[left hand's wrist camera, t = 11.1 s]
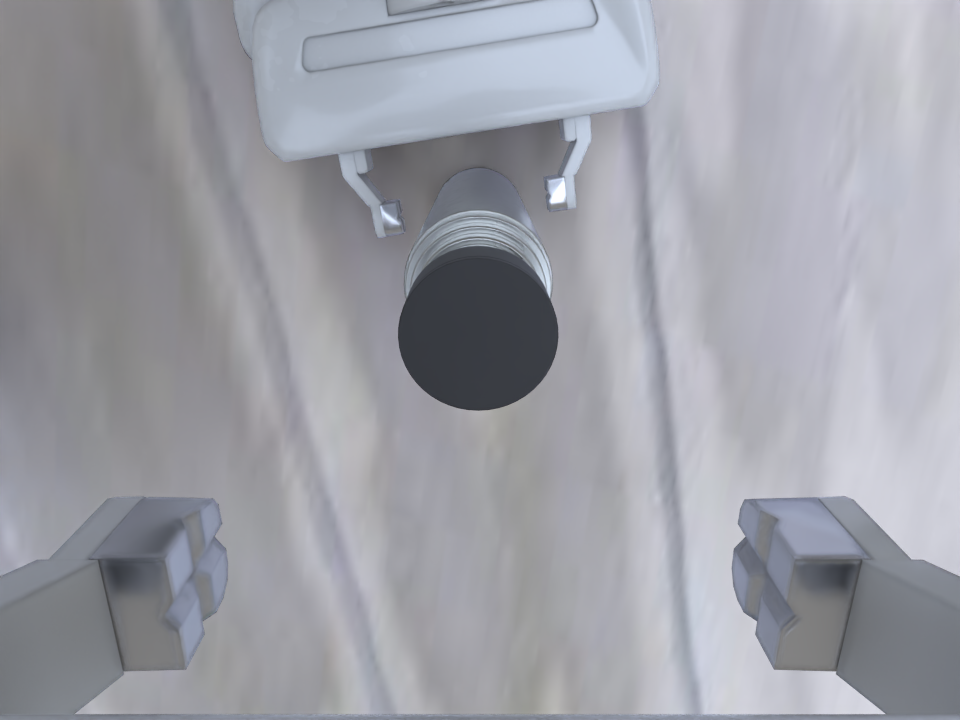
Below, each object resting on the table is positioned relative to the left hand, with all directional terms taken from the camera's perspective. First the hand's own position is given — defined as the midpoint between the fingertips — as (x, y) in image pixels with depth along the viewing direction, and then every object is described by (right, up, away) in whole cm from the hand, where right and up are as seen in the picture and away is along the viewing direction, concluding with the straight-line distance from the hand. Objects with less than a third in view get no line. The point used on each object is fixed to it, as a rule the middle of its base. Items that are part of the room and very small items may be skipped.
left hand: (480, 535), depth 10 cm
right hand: (0, +10, +27) cm, 29 cm away
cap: (0, +3, +9) cm, 10 cm away
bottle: (0, +12, +32) cm, 34 cm away
